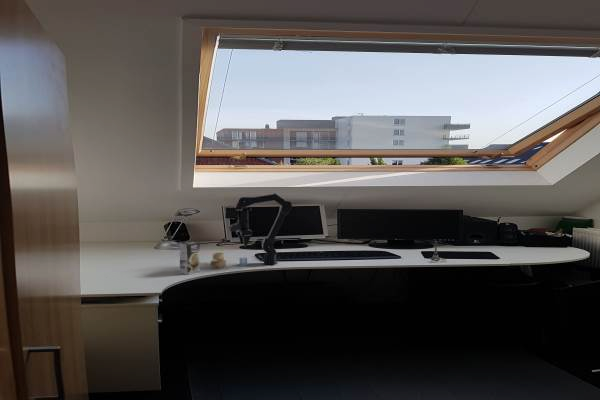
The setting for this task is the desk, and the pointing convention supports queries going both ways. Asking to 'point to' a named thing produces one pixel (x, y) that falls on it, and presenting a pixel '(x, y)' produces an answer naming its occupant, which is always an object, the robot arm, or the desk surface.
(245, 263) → the cylinder
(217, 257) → the top block
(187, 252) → the coffee box
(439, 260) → the eiffel tower figurine
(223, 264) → the base block
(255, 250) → the desk surface
